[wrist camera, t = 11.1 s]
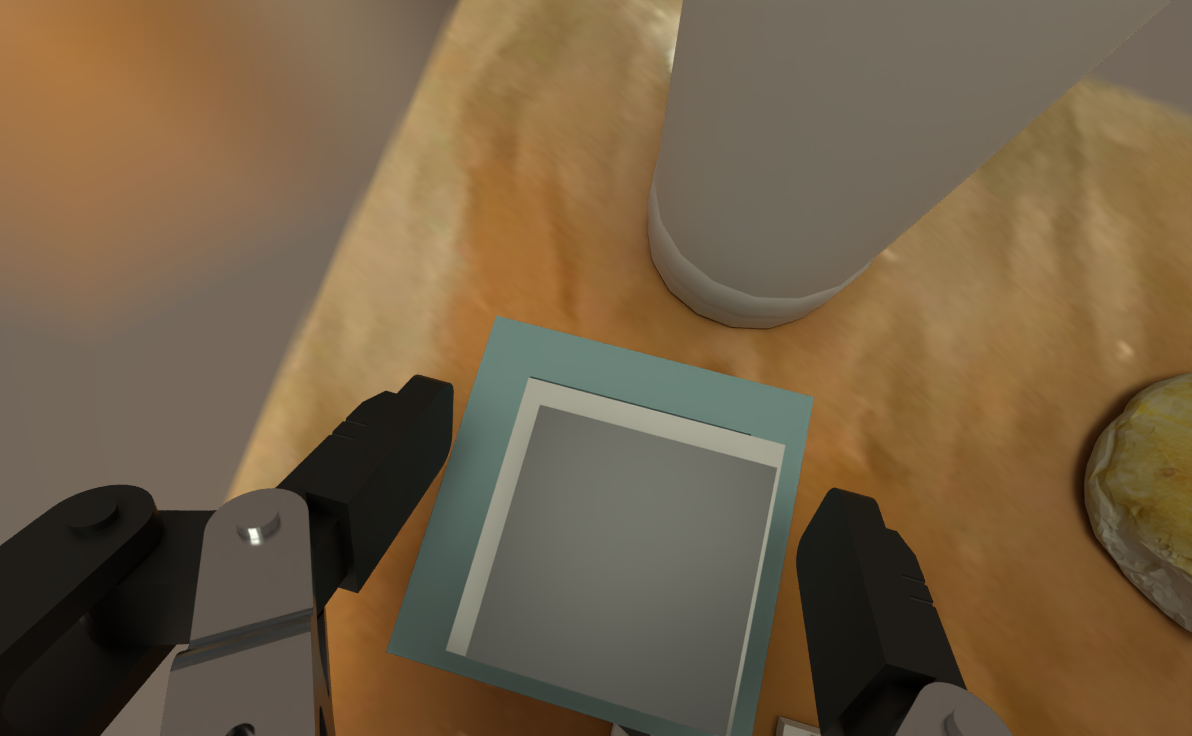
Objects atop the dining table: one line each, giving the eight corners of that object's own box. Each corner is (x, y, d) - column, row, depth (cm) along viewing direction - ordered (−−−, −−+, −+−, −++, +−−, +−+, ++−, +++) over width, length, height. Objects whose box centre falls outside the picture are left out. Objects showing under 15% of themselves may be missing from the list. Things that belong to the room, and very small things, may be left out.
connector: (696, 467, 18) (836, 432, 7) (665, 608, 17) (769, 817, 6) (566, 432, 18) (507, 346, 7) (528, 568, 17) (396, 699, 6)
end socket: (771, 416, 19) (813, 396, 15) (714, 702, 17) (746, 764, 13) (517, 350, 20) (496, 315, 16) (434, 616, 18) (386, 652, 14)
